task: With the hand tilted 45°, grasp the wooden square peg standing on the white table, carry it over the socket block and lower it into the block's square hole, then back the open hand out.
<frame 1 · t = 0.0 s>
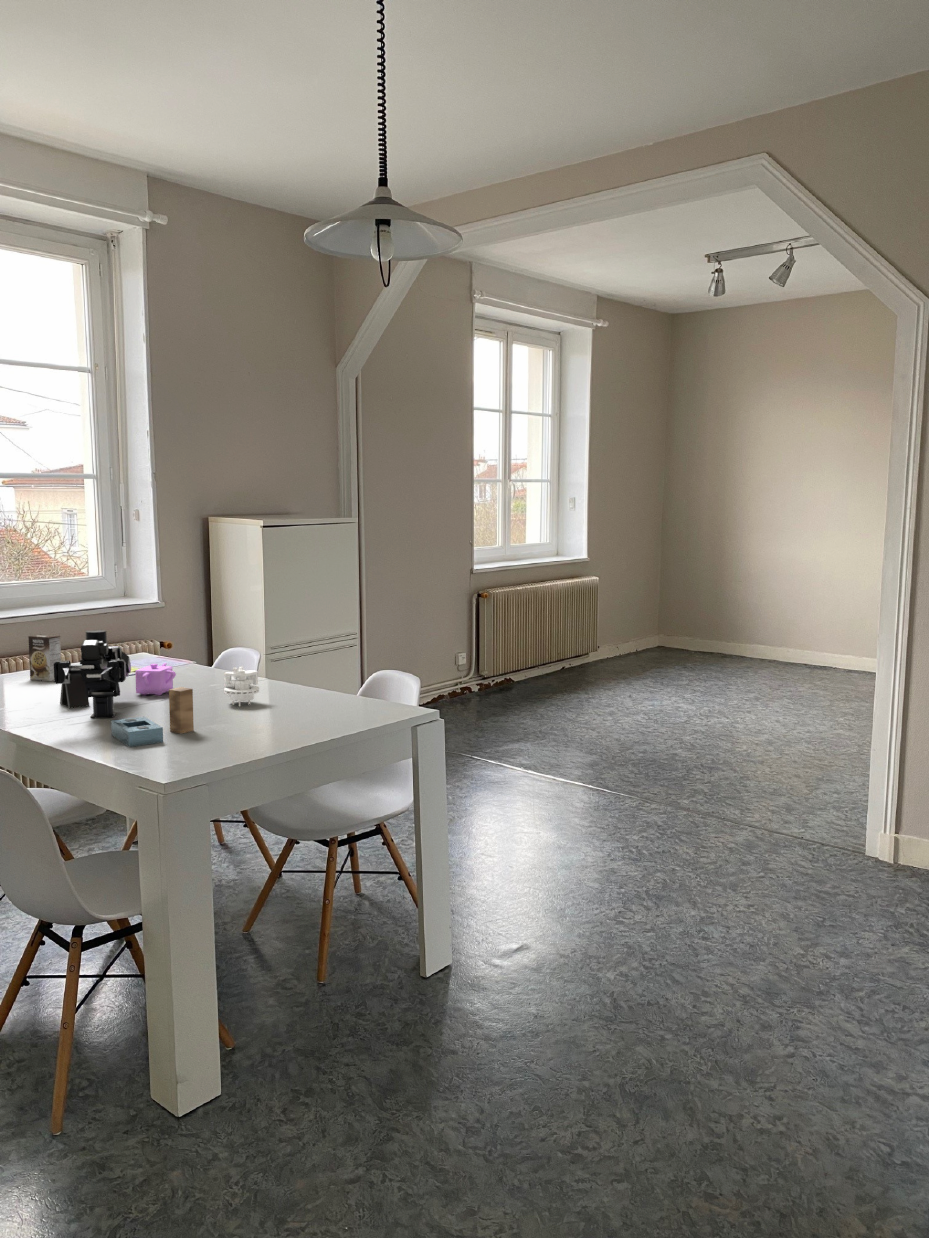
hand: (84, 676, 252), 17 cm above the table, tool horizontal, fingers open, 9 cm apart
mechanical part: (242, 704, 298), on the table
teapot: (157, 693, 315), on the table
phone stand: (74, 705, 294), on the table
wooden square peg: (181, 731, 261), on the table
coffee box: (46, 679, 338), on the table
socket block: (137, 738, 252), on the table
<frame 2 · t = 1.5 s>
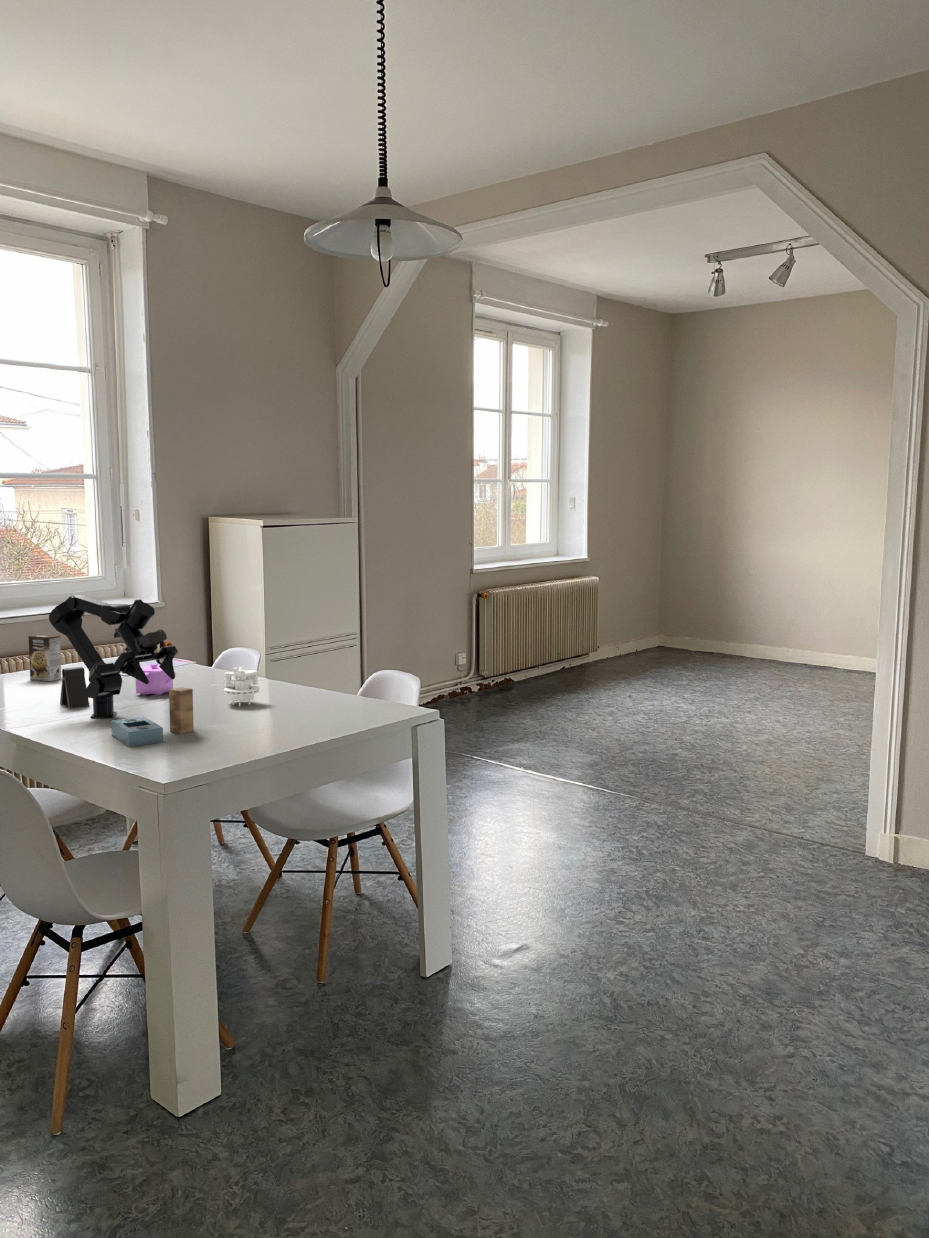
hand: (161, 680, 263), 14 cm above the table, tool tilted 45°, fingers open, 9 cm apart
nothing on the table moved.
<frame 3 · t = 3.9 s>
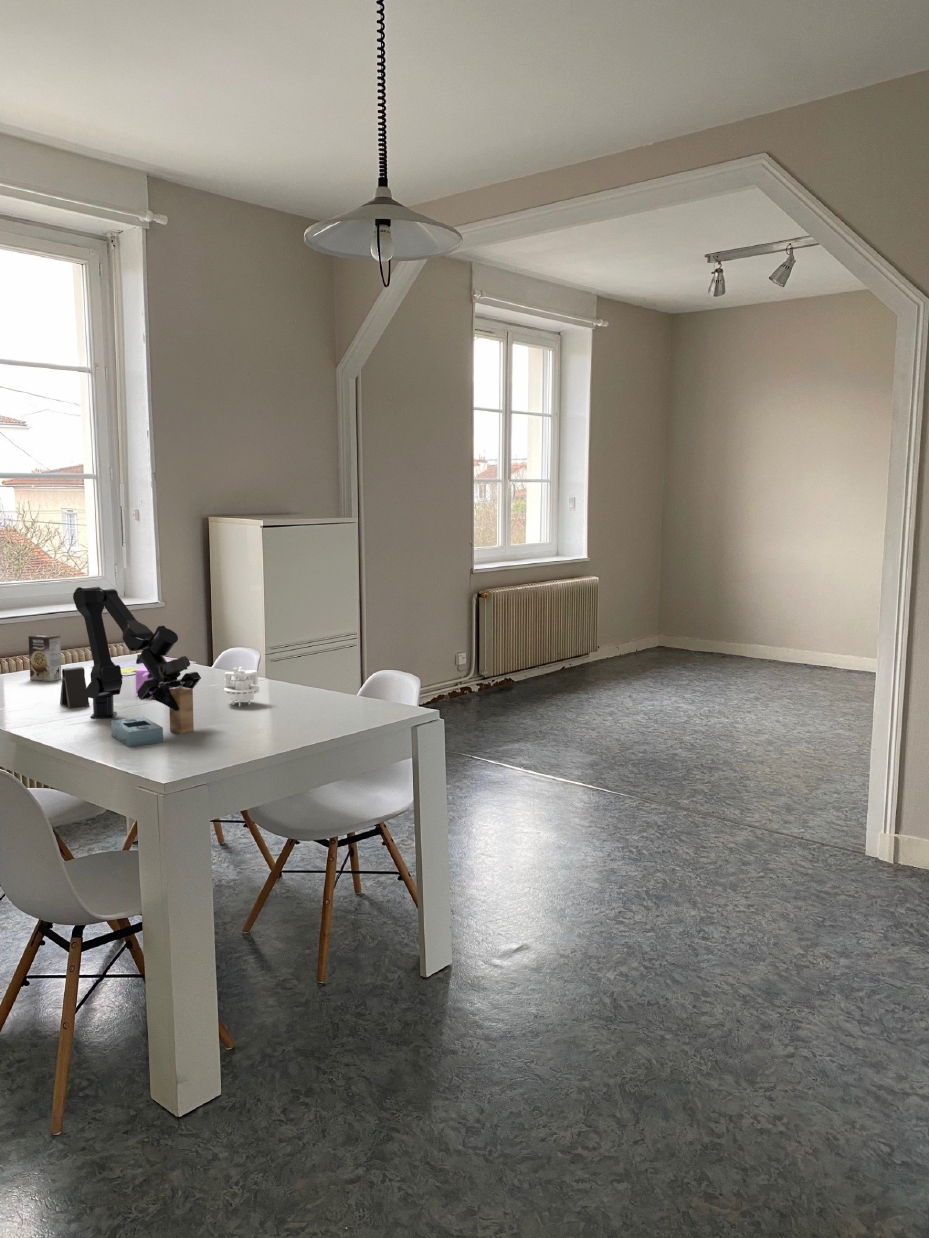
hand: (184, 708, 259), 7 cm above the table, tool tilted 45°, fingers closed on wooden square peg, 4 cm apart
wooden square peg: (181, 731, 261), on the table, touching gripper
everything else where it was.
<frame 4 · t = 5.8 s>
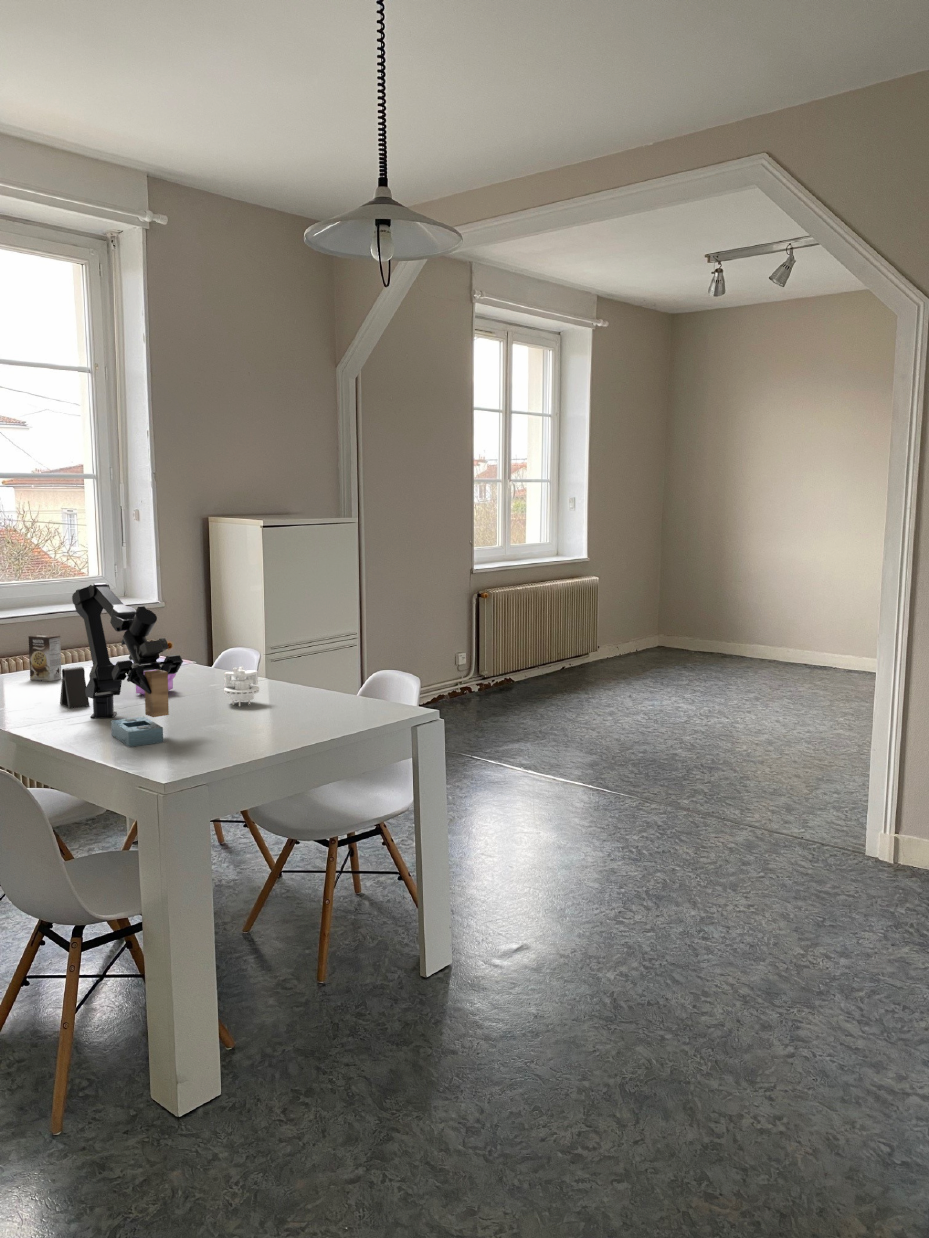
hand: (158, 691, 253), 12 cm above the table, tool tilted 45°, fingers closed on wooden square peg, 4 cm apart
wooden square peg: (157, 714, 254), point 6 cm above the table, touching gripper
everything else where it was.
when the fingers open (7 cm above the table, at t = 7.9 s): wooden square peg stays where it is, resting in socket block.
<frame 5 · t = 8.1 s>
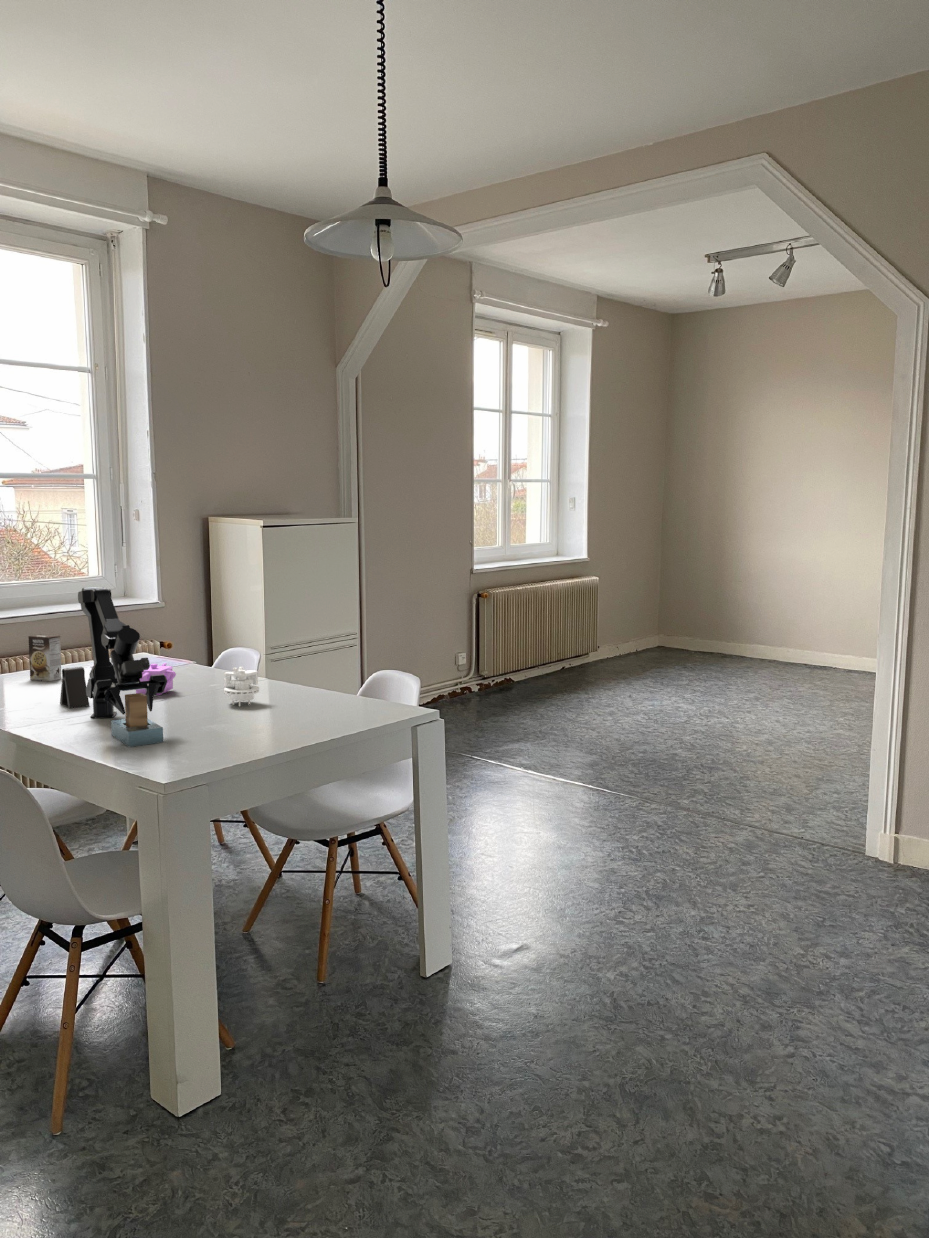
hand: (137, 712, 250), 8 cm above the table, tool tilted 45°, fingers open, 7 cm apart
wooden square peg: (137, 738, 252), resting in socket block
everything else where it was.
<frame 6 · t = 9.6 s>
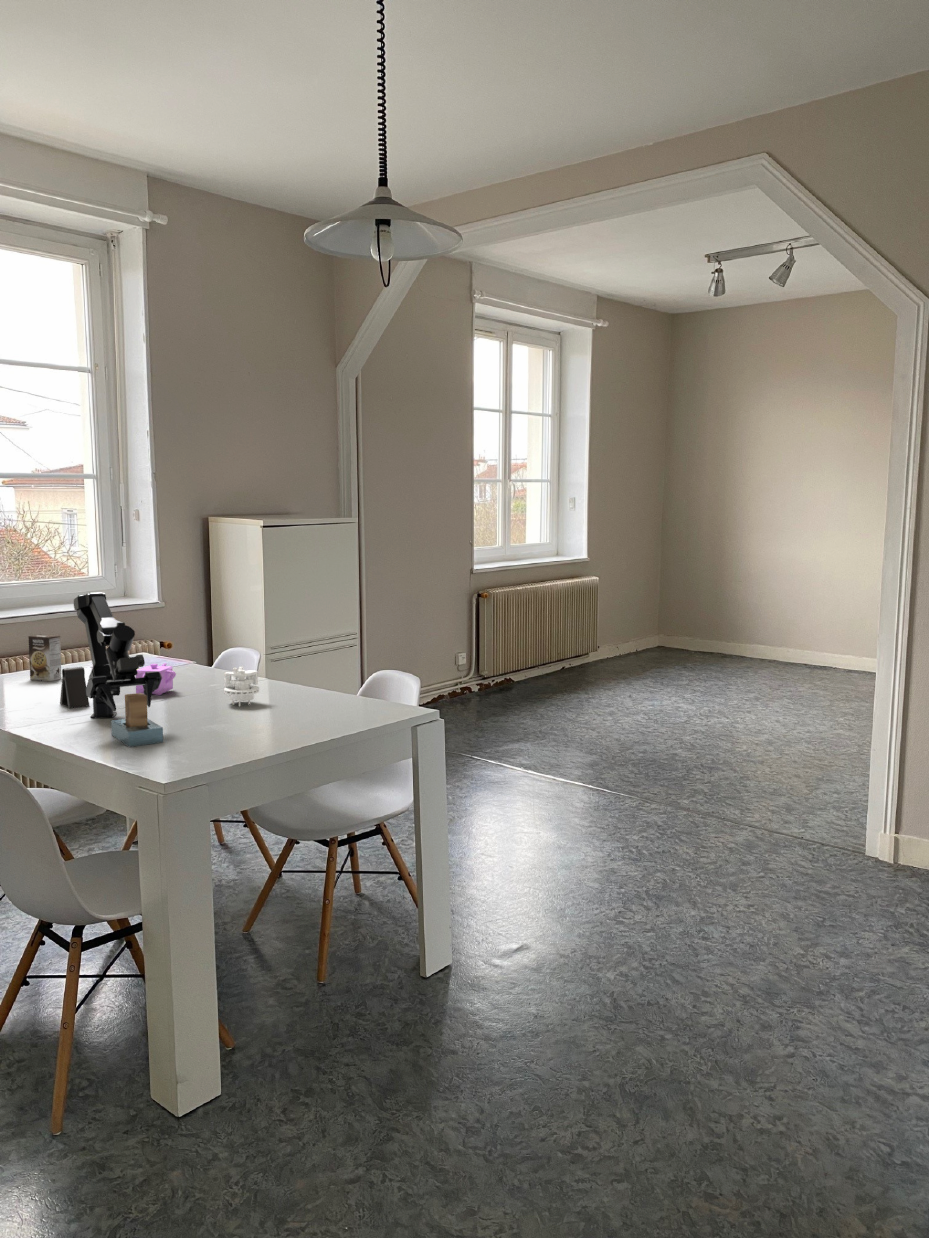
hand: (132, 708, 254), 8 cm above the table, tool tilted 45°, fingers open, 9 cm apart
nothing on the table moved.
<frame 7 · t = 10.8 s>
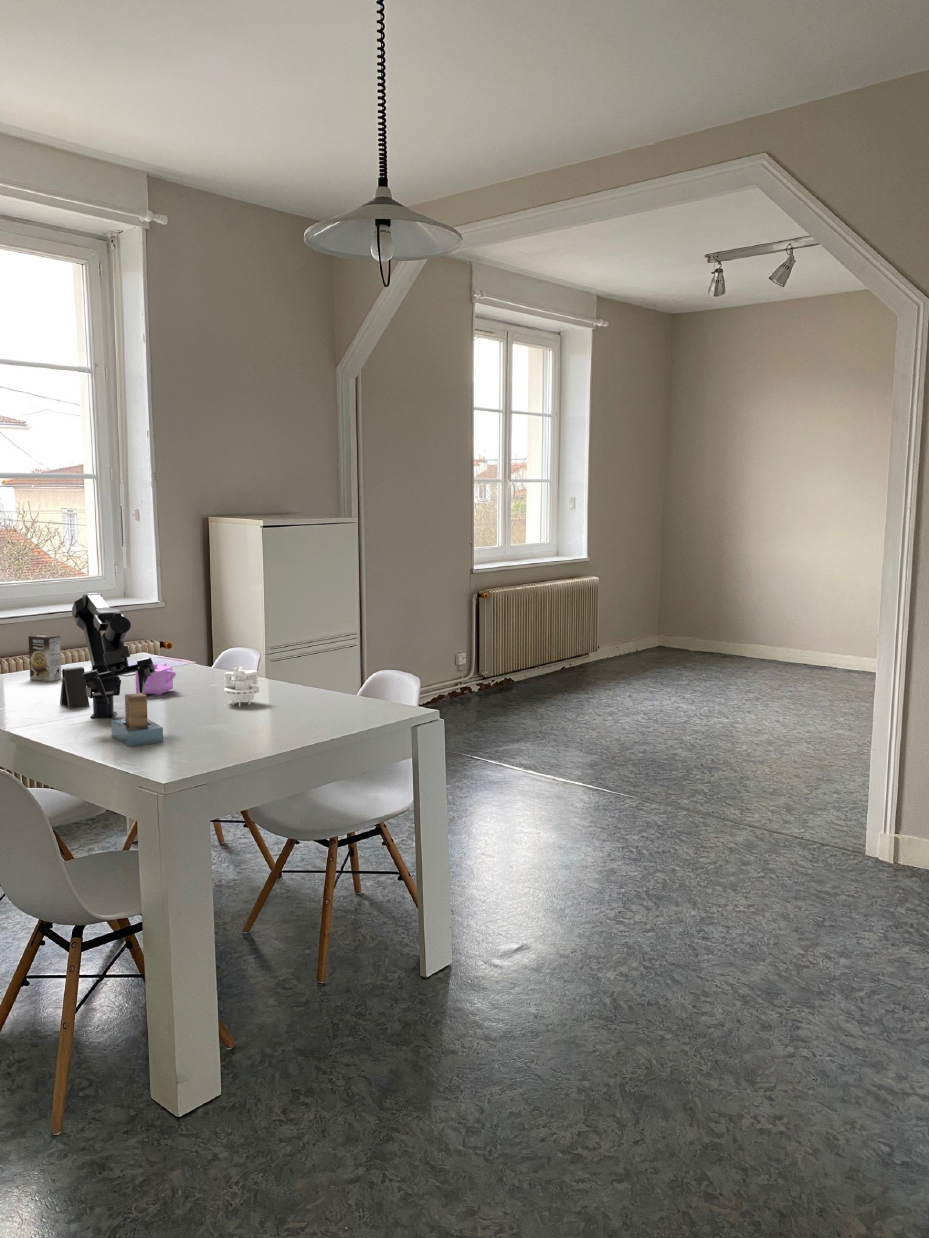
hand: (124, 699, 258), 9 cm above the table, tool tilted 35°, fingers open, 9 cm apart
nothing on the table moved.
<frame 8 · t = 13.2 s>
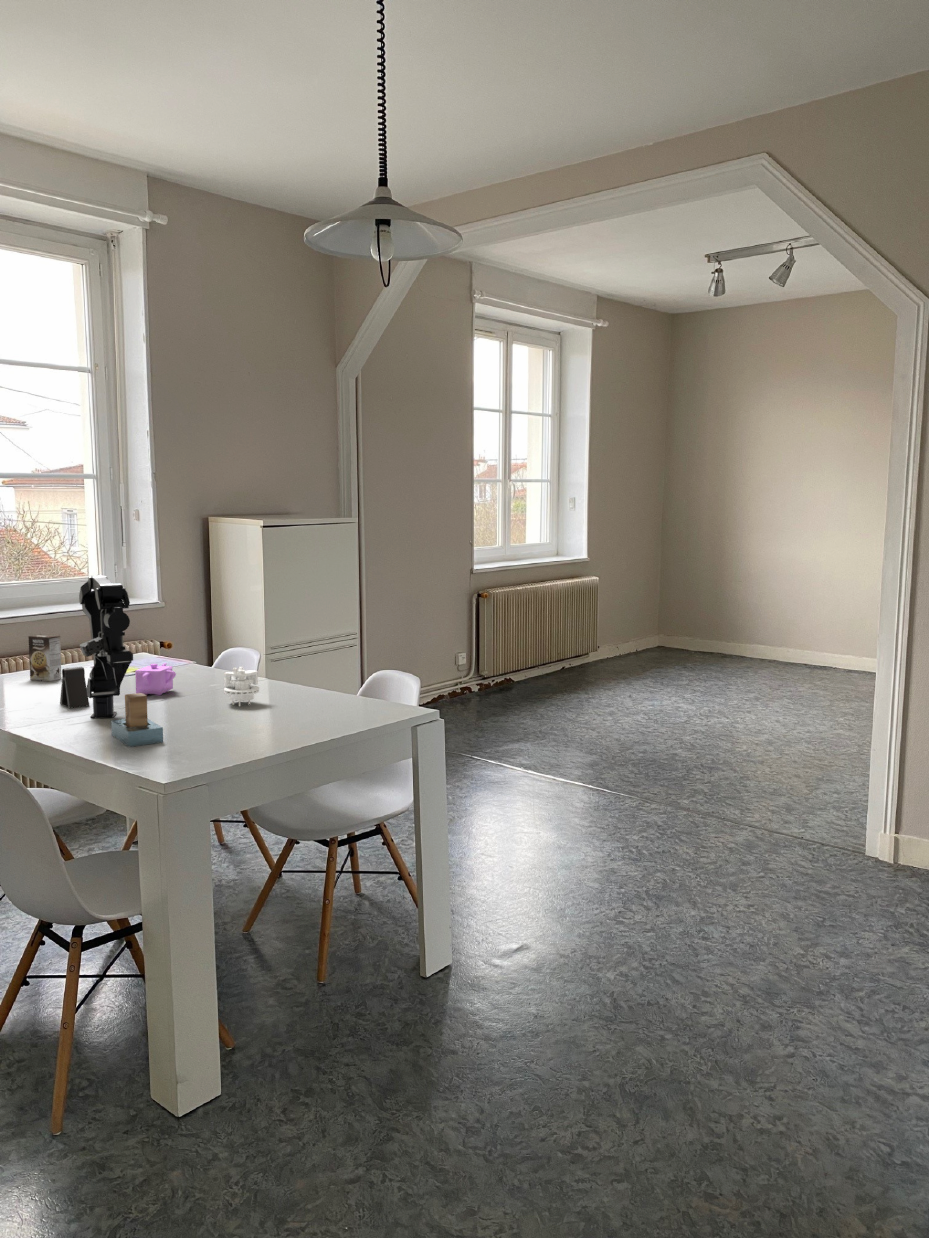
hand: (113, 682, 262), 13 cm above the table, tool pointing down, fingers open, 9 cm apart
nothing on the table moved.
at the end: wooden square peg 0.0 cm off-centre on the socket block, point 0.0 cm above the socket block's base; wooden square peg tilted 0°; the gripper is holding nothing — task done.
